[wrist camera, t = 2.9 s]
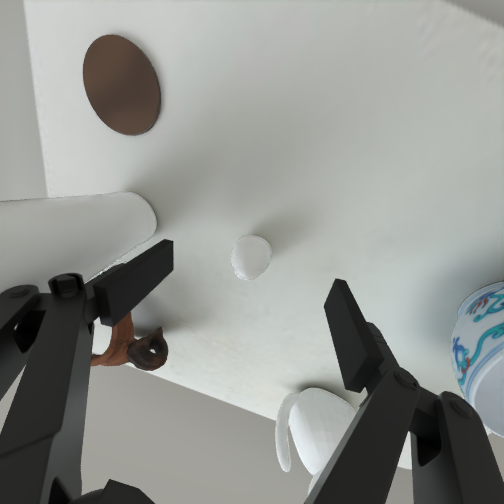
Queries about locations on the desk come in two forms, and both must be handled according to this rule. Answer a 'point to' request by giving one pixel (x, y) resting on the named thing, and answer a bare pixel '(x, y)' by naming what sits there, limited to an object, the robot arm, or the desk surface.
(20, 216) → the drinking glass
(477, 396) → the chinaware
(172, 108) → the desk surface
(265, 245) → the egg
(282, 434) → the cat figurine
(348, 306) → the robot arm
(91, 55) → the coaster
